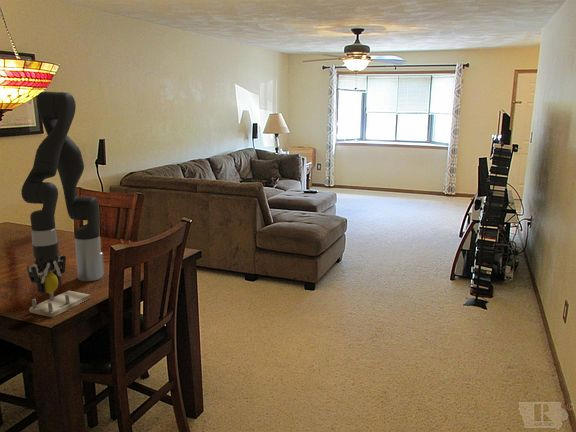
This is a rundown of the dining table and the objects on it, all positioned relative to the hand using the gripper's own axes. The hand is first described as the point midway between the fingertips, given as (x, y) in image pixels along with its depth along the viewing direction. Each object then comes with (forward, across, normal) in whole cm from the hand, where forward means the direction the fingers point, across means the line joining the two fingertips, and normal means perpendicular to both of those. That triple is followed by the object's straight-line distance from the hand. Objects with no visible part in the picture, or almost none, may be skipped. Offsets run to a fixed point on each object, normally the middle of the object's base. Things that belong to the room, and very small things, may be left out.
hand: (49, 289), depth 161 cm
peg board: (+7, -4, 0) cm, 8 cm away
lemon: (+2, 0, 0) cm, 2 cm away
